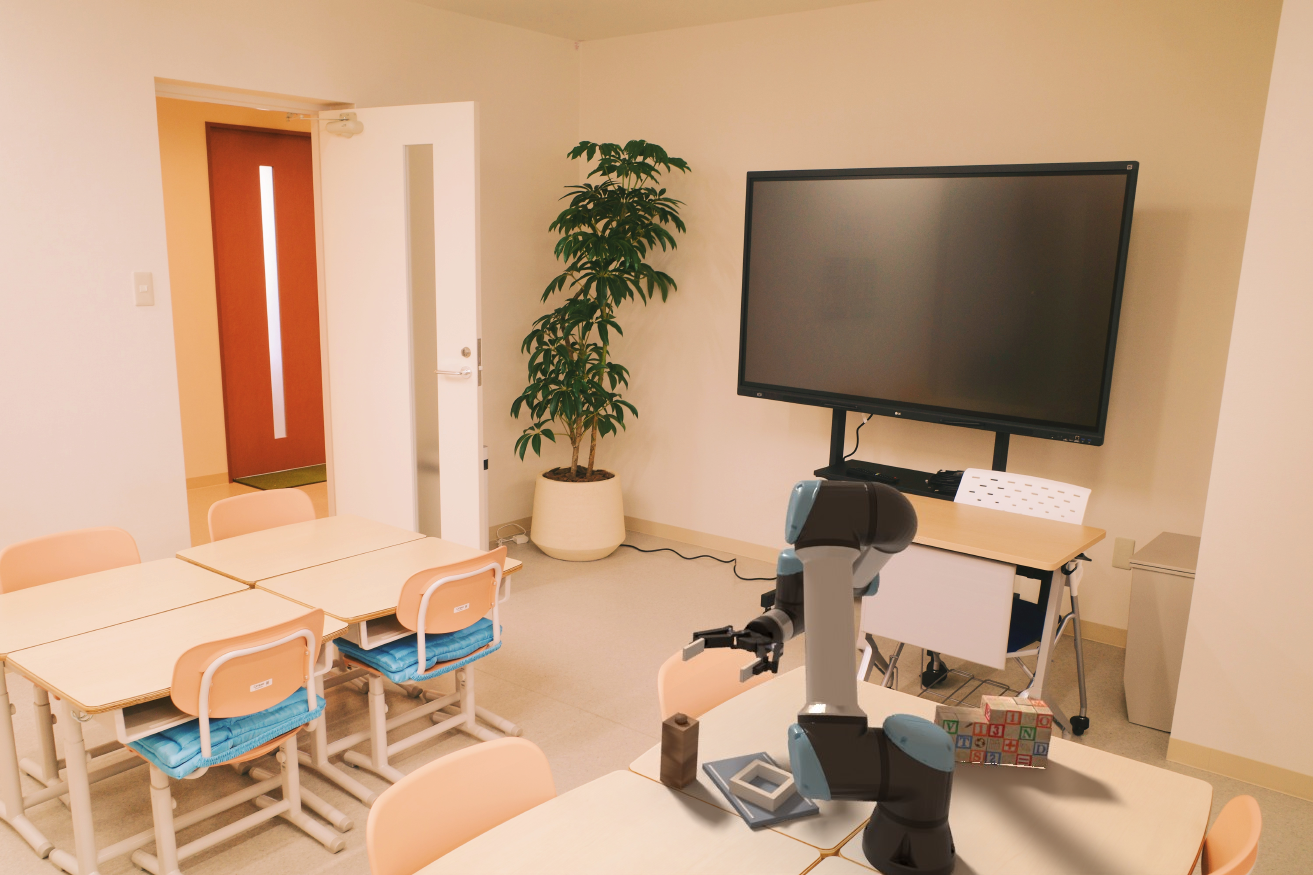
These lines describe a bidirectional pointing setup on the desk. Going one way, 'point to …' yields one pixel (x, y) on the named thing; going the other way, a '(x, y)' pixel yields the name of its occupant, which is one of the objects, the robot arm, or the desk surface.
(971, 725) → the stack of blocks
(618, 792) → the desk surface
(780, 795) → the socket collar
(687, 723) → the pillar
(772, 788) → the board
